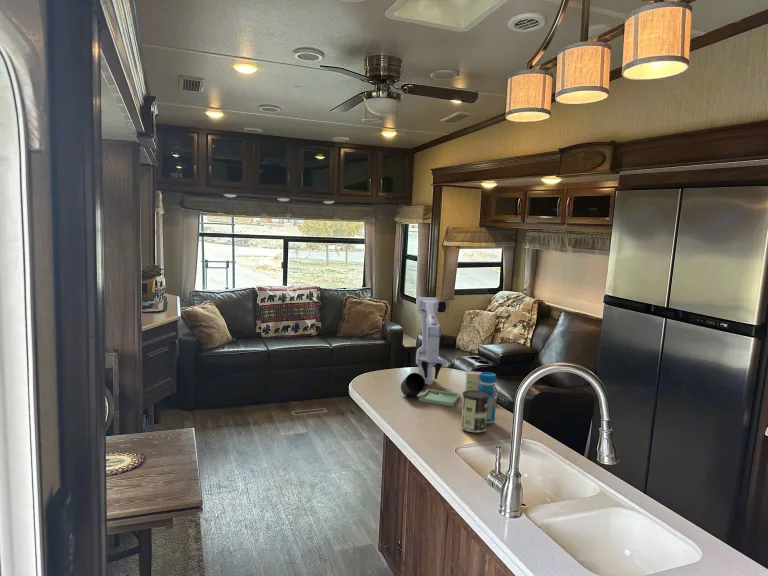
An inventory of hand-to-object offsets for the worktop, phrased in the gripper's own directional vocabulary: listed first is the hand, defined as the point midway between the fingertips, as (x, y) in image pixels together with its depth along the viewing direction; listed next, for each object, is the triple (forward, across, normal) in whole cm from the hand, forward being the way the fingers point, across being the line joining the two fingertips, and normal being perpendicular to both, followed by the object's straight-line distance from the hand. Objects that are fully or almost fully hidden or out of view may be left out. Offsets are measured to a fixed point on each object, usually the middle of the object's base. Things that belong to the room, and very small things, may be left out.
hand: (430, 378), depth 245 cm
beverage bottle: (+9, +29, -20) cm, 37 cm away
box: (+9, +20, +11) cm, 25 cm away
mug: (+5, -8, -3) cm, 10 cm away
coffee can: (+10, +26, -31) cm, 42 cm away
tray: (+9, +5, -2) cm, 11 cm away
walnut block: (+7, -6, +5) cm, 11 cm away
